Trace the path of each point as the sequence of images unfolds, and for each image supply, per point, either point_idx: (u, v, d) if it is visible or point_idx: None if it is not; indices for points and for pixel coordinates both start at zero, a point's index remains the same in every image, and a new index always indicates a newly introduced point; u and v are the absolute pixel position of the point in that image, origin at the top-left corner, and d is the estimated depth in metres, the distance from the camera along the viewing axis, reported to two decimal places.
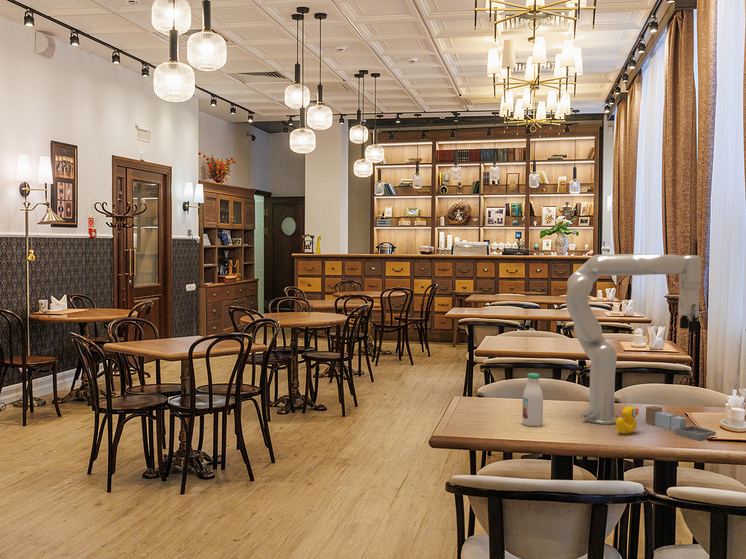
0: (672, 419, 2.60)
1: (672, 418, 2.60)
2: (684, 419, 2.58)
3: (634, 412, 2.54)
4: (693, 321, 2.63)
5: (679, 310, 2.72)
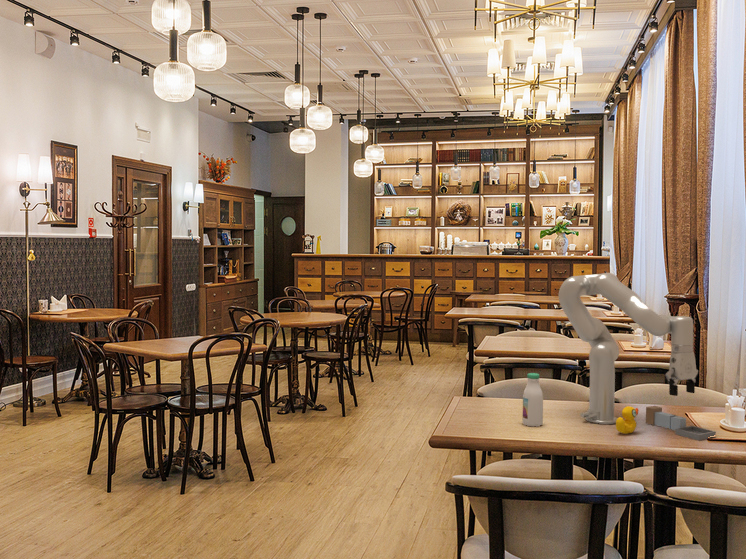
0: (672, 419, 2.60)
1: (672, 418, 2.60)
2: (684, 419, 2.58)
3: (634, 412, 2.54)
4: None
5: (683, 376, 2.55)
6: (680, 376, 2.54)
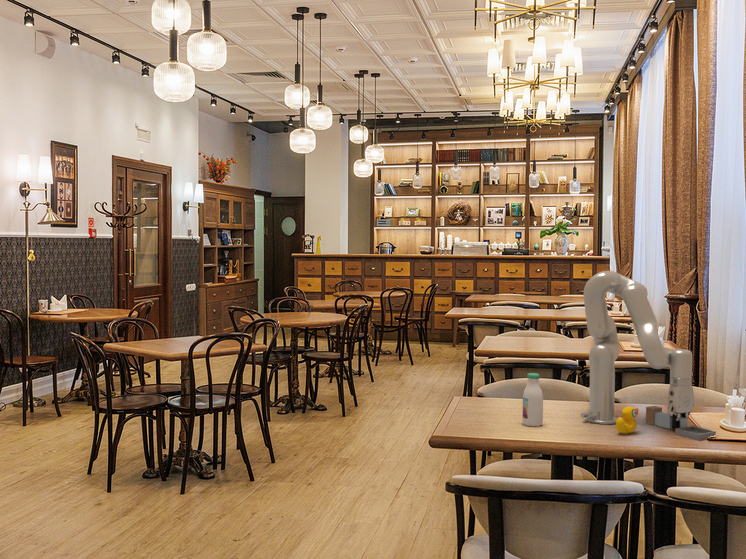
0: None
1: None
2: (685, 419, 2.58)
3: (634, 412, 2.54)
4: None
5: (681, 409, 2.56)
6: (678, 409, 2.55)
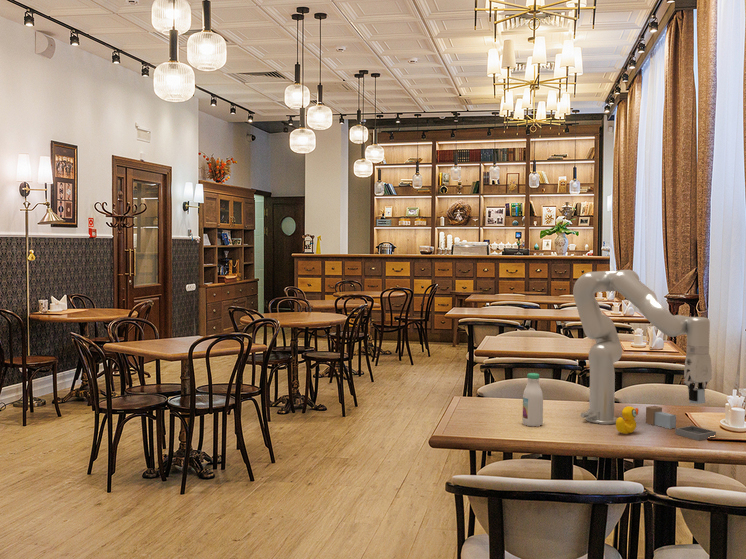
0: None
1: None
2: (702, 390, 2.51)
3: (634, 412, 2.54)
4: None
5: (699, 378, 2.48)
6: (695, 378, 2.47)
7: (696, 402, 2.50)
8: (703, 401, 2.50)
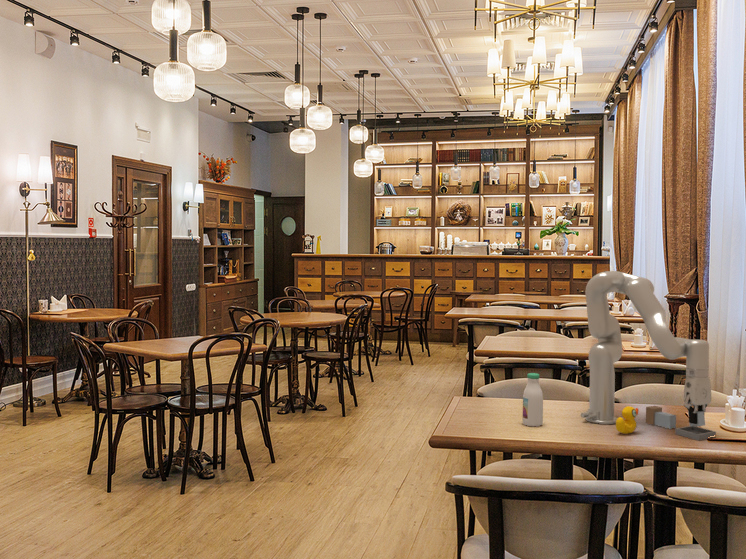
0: None
1: None
2: (702, 413, 2.51)
3: (634, 412, 2.54)
4: None
5: (699, 401, 2.48)
6: (695, 401, 2.47)
7: (696, 425, 2.50)
8: (703, 423, 2.51)
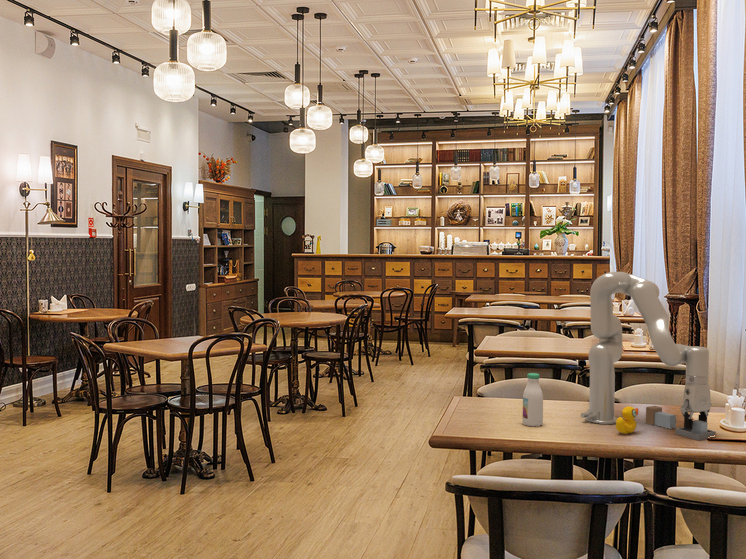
0: (693, 423, 2.51)
1: (693, 422, 2.51)
2: (705, 423, 2.50)
3: (634, 412, 2.54)
4: None
5: (698, 408, 2.48)
6: (694, 408, 2.48)
7: None
8: None
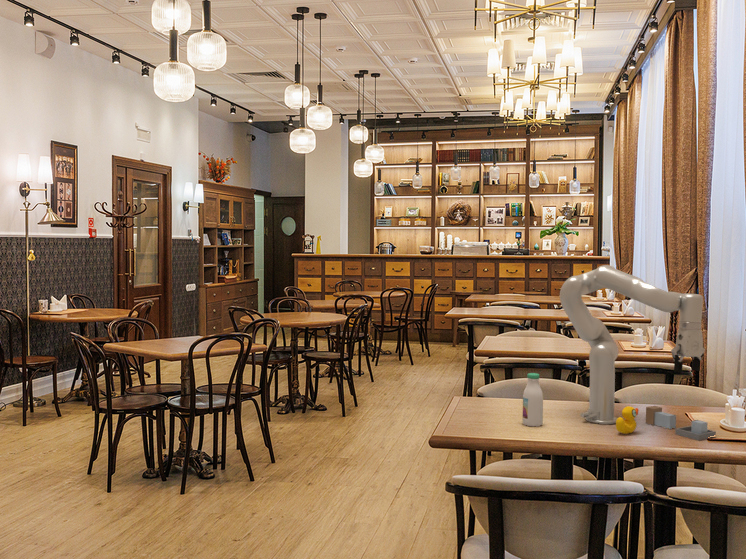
0: (693, 423, 2.51)
1: (693, 422, 2.51)
2: (705, 423, 2.50)
3: (634, 412, 2.54)
4: None
5: (689, 353, 2.54)
6: (686, 353, 2.54)
7: None
8: None
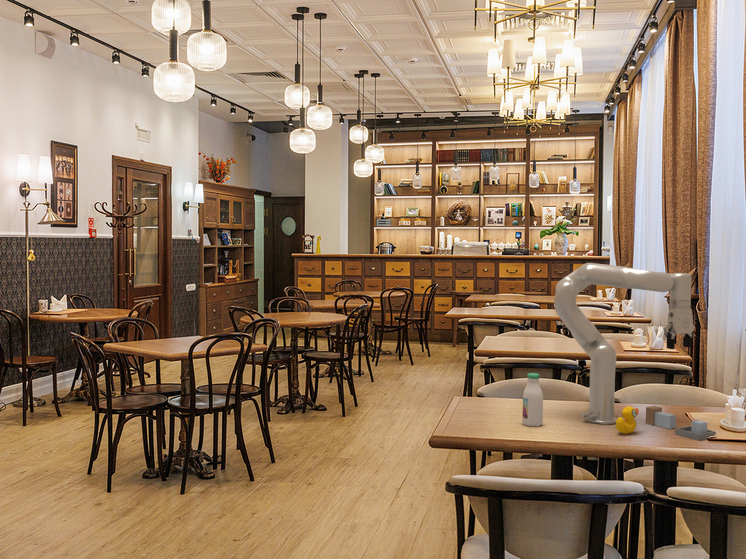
0: (693, 423, 2.51)
1: (693, 422, 2.51)
2: (705, 423, 2.50)
3: (634, 412, 2.54)
4: None
5: (681, 330, 2.63)
6: (677, 330, 2.63)
7: None
8: None
